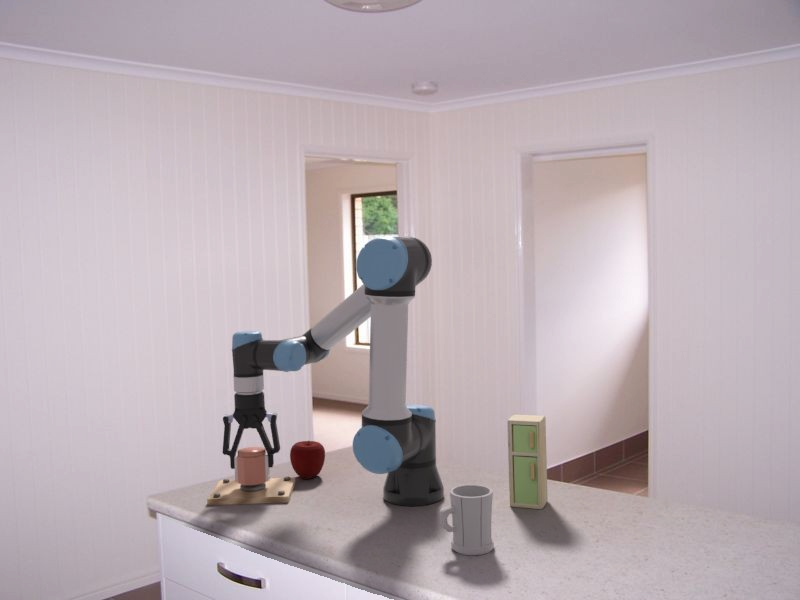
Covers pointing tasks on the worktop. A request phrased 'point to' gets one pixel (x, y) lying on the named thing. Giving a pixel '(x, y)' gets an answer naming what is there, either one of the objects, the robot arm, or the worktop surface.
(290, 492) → the stud plate
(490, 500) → the cup
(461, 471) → the worktop surface
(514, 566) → the worktop surface
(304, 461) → the apple
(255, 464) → the cap
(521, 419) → the toy refrigerator
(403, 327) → the robot arm
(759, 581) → the worktop surface
